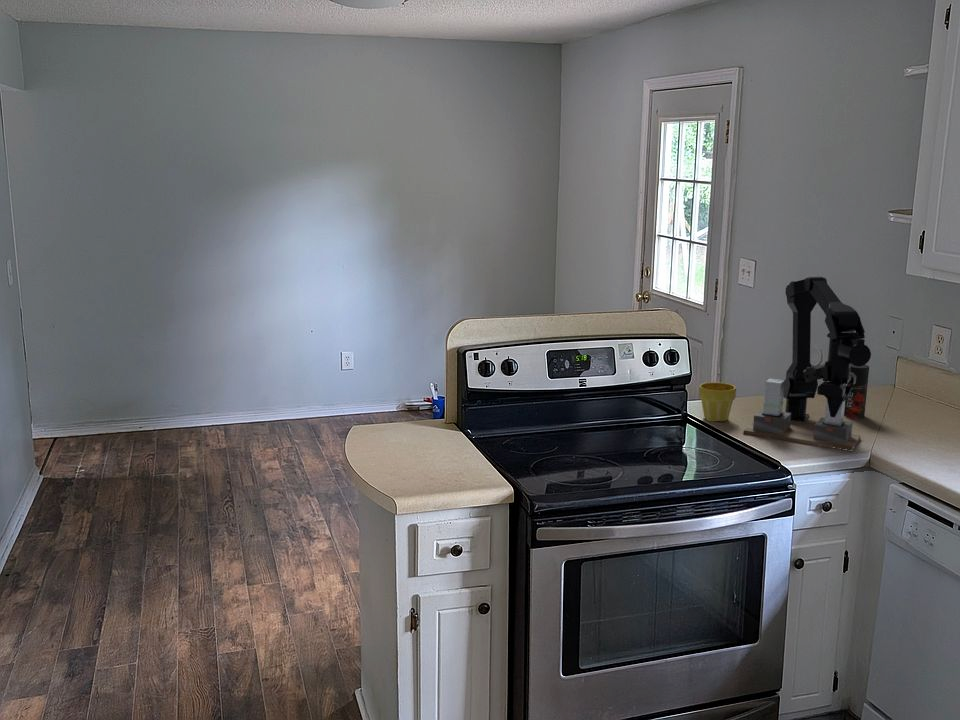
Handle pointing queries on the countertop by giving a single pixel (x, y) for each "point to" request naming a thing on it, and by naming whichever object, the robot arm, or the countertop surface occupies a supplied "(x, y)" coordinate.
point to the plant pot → (717, 400)
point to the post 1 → (774, 397)
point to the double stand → (802, 431)
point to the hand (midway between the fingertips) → (834, 415)
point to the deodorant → (857, 393)
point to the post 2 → (838, 418)
